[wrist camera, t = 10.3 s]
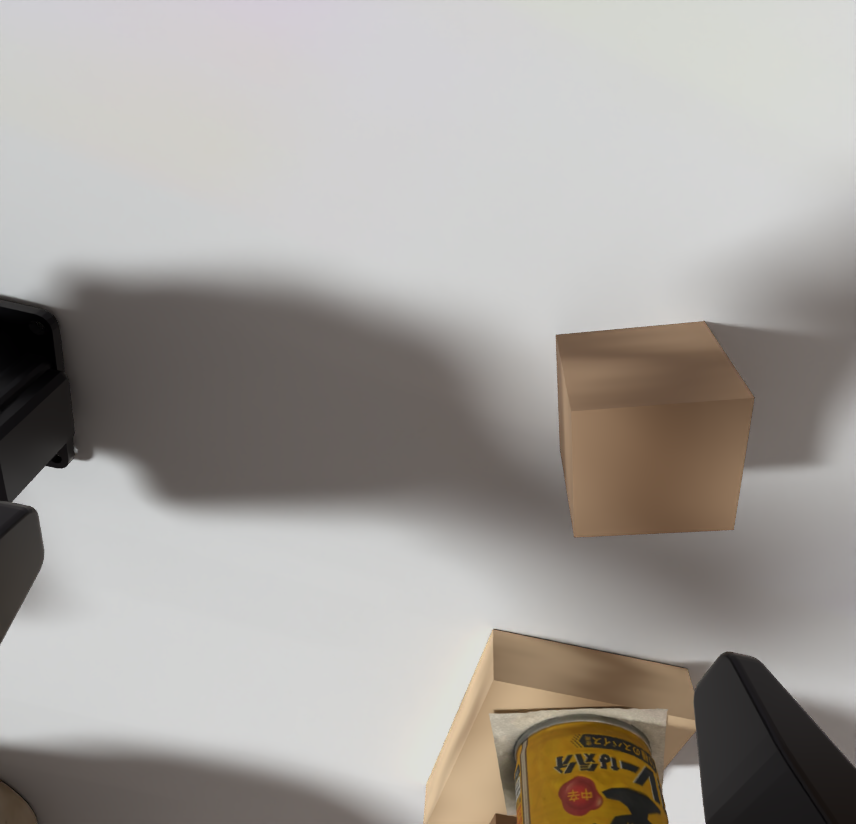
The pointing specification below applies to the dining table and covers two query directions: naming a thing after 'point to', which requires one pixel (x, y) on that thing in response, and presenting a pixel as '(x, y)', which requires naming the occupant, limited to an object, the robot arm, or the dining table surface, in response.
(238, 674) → the dining table surface
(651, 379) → the block
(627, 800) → the condiment
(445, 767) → the foundation
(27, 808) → the plant pot
